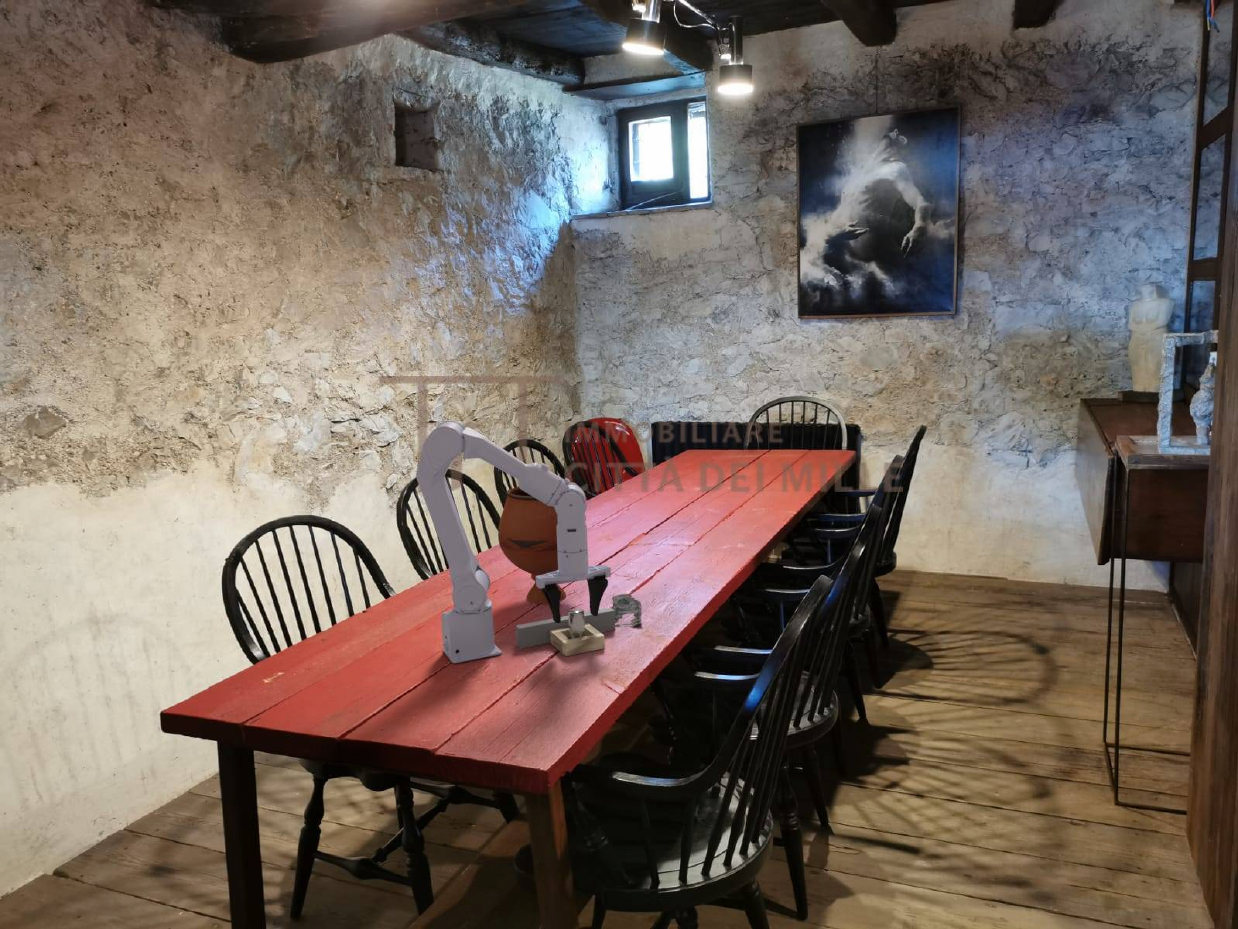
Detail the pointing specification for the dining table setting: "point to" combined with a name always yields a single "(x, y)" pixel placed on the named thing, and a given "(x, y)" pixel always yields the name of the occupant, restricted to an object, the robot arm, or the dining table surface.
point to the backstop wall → (541, 629)
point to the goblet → (530, 538)
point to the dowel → (576, 623)
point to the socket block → (577, 641)
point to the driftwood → (627, 609)
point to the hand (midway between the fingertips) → (575, 618)
